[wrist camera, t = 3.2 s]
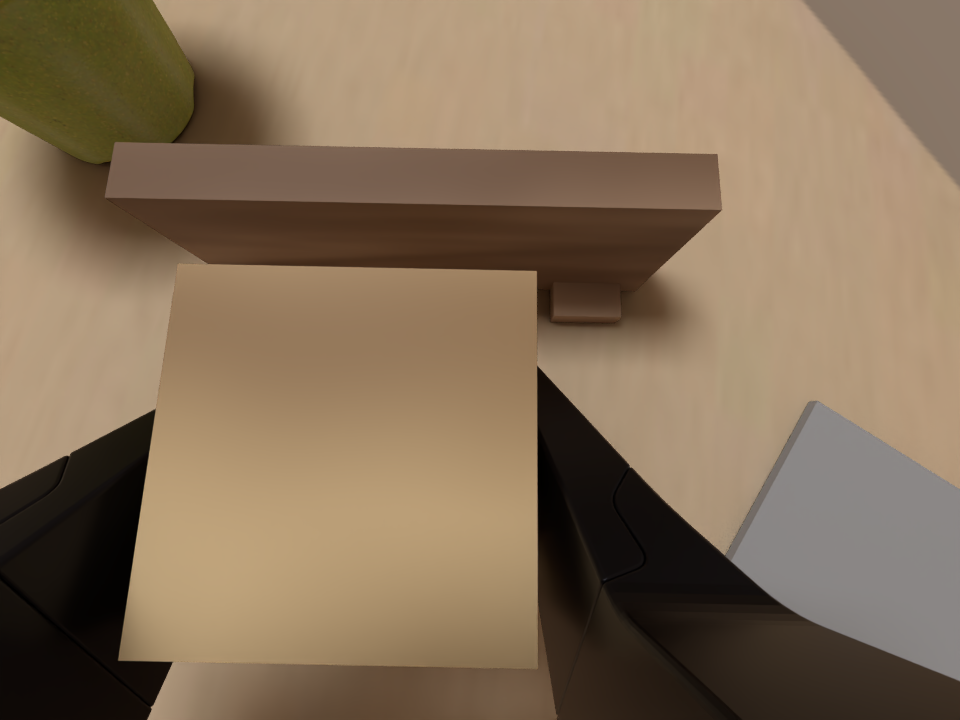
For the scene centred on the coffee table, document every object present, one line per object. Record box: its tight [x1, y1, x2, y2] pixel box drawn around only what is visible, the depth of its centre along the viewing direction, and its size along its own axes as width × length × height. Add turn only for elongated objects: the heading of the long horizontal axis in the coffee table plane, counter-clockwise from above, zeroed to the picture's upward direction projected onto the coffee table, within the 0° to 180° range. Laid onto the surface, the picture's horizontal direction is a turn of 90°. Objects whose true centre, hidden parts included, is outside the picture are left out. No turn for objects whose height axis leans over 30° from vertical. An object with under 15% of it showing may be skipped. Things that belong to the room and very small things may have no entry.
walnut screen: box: [105, 142, 722, 323], centre depth 14 cm, size 4×15×6 cm, turn 89°
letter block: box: [118, 264, 538, 669], centre depth 11 cm, size 5×5×10 cm
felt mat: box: [726, 401, 960, 681], centre depth 14 cm, size 12×12×1 cm
